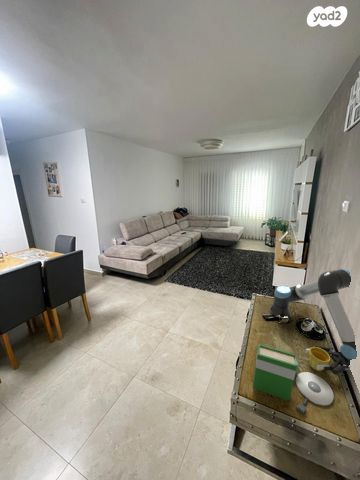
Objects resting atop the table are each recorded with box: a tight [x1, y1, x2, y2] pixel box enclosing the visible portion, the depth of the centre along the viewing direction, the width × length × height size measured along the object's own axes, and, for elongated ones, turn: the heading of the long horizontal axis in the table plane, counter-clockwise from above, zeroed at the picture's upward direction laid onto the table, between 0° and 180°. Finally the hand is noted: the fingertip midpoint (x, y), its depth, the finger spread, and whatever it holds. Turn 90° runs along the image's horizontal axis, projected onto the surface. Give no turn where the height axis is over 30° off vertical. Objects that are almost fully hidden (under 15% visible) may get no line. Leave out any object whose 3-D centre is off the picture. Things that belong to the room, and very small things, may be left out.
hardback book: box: [252, 343, 297, 402], centre depth 105 cm, size 18×7×24 cm, turn 67°
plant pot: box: [308, 346, 331, 372], centre depth 118 cm, size 10×10×10 cm
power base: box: [295, 371, 334, 415], centre depth 105 cm, size 26×17×2 cm, turn 128°
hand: (311, 358), depth 118 cm, fingers closed on plant pot, 10 cm apart
